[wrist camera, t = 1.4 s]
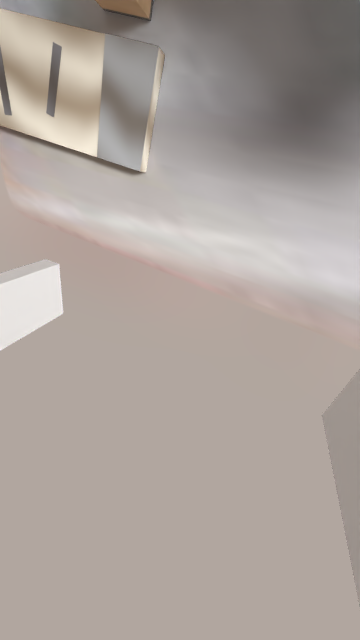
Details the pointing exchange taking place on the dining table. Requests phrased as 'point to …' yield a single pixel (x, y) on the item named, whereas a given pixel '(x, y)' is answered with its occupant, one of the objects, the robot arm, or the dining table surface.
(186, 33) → the dining table surface
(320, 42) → the dining table surface
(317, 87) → the dining table surface
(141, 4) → the brown cardboard box
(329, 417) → the robot arm
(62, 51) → the board
